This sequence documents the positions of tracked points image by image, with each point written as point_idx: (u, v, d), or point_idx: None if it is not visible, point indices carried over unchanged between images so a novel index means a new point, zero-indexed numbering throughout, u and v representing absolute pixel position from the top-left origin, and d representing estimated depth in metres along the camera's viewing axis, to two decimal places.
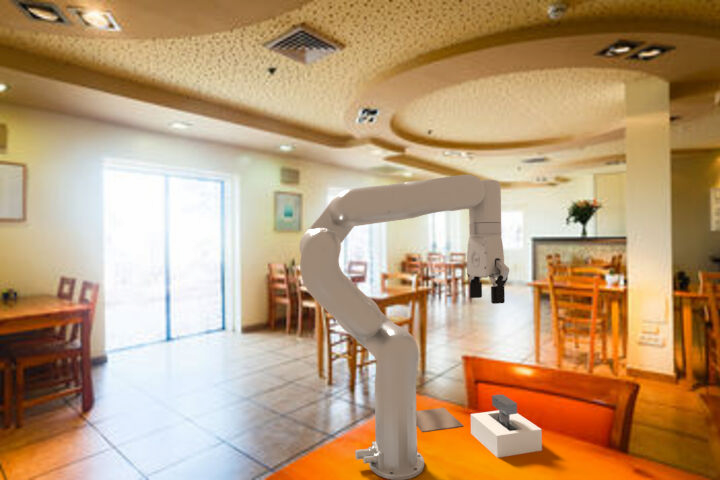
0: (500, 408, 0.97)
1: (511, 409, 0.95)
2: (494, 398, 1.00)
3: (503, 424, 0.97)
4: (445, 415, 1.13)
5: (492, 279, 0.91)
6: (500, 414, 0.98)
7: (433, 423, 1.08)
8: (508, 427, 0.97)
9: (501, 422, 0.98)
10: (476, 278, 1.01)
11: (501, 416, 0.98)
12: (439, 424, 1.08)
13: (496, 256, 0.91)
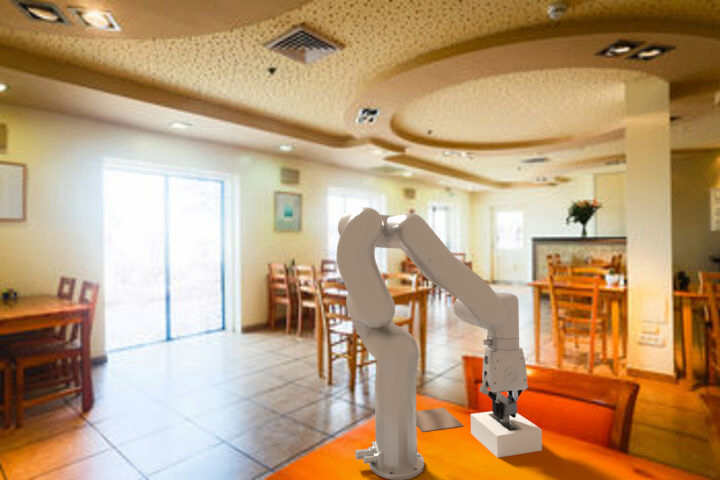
0: None
1: (511, 409, 0.95)
2: None
3: (503, 424, 0.97)
4: (445, 415, 1.13)
5: (516, 393, 0.98)
6: None
7: (433, 423, 1.08)
8: (508, 427, 0.97)
9: (501, 422, 0.98)
10: None
11: None
12: (439, 424, 1.08)
13: None
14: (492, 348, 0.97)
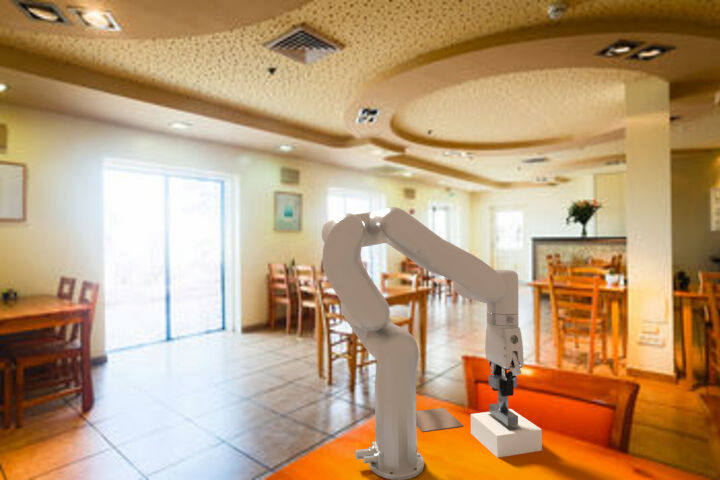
0: None
1: None
2: (499, 380, 0.96)
3: (507, 400, 0.98)
4: (445, 415, 1.13)
5: None
6: None
7: (433, 423, 1.08)
8: None
9: (506, 399, 0.97)
10: None
11: None
12: (439, 424, 1.08)
13: None
14: (514, 325, 0.95)
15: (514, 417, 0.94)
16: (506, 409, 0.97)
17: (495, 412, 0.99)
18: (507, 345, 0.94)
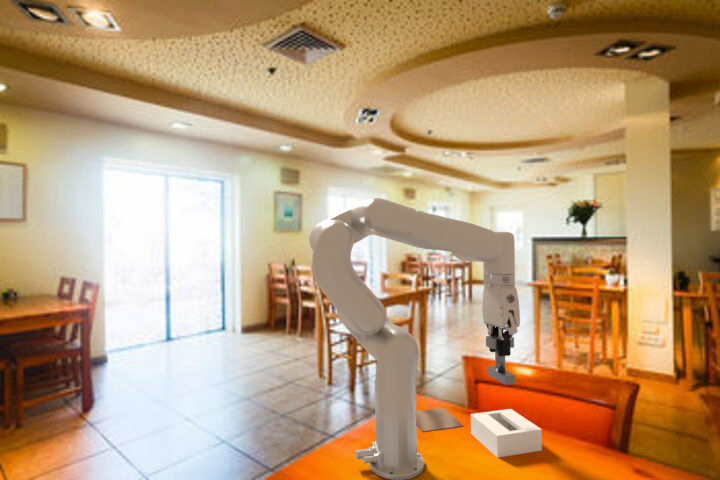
0: None
1: None
2: (496, 340, 0.97)
3: None
4: (445, 415, 1.13)
5: None
6: None
7: (433, 423, 1.08)
8: None
9: (504, 359, 0.98)
10: None
11: None
12: (439, 424, 1.08)
13: None
14: (511, 285, 0.96)
15: (511, 376, 0.95)
16: (503, 370, 0.98)
17: (492, 373, 1.00)
18: (503, 304, 0.94)
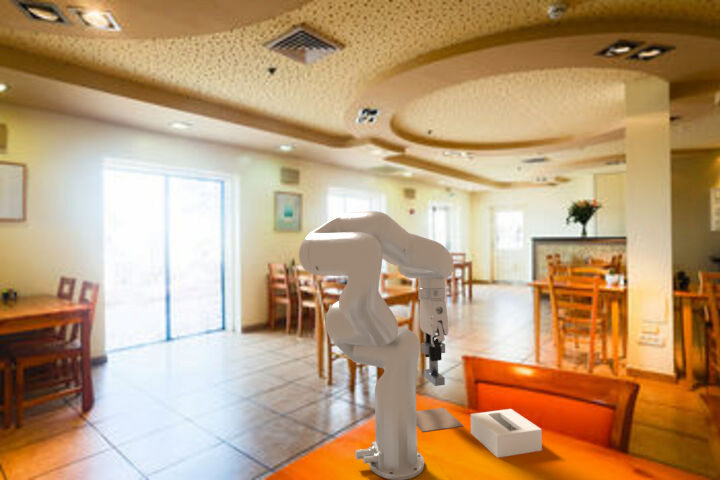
0: None
1: None
2: (428, 346, 1.09)
3: (437, 364, 1.11)
4: (445, 415, 1.13)
5: None
6: None
7: (433, 423, 1.08)
8: None
9: (436, 364, 1.10)
10: None
11: None
12: (439, 424, 1.08)
13: None
14: (440, 298, 1.08)
15: (441, 378, 1.08)
16: (435, 373, 1.10)
17: (427, 375, 1.12)
18: (433, 315, 1.06)
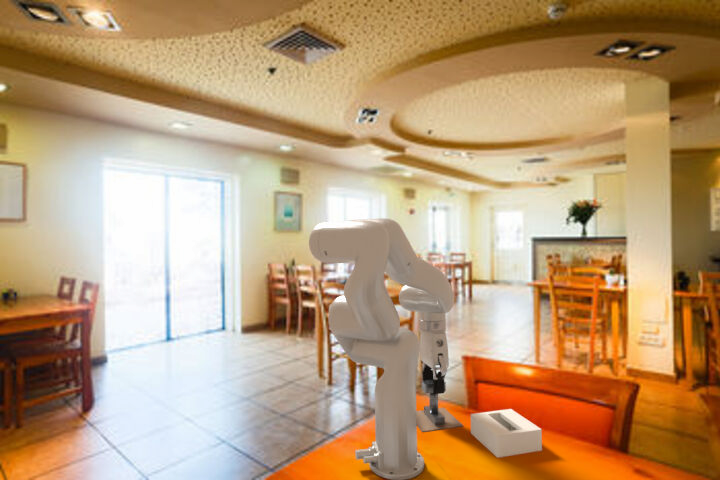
0: None
1: None
2: (429, 385, 1.09)
3: (437, 403, 1.10)
4: (445, 415, 1.13)
5: None
6: (435, 395, 1.10)
7: None
8: None
9: (436, 402, 1.10)
10: None
11: (436, 396, 1.10)
12: None
13: None
14: (441, 330, 1.08)
15: (441, 418, 1.07)
16: (435, 411, 1.10)
17: (427, 413, 1.12)
18: (433, 348, 1.06)
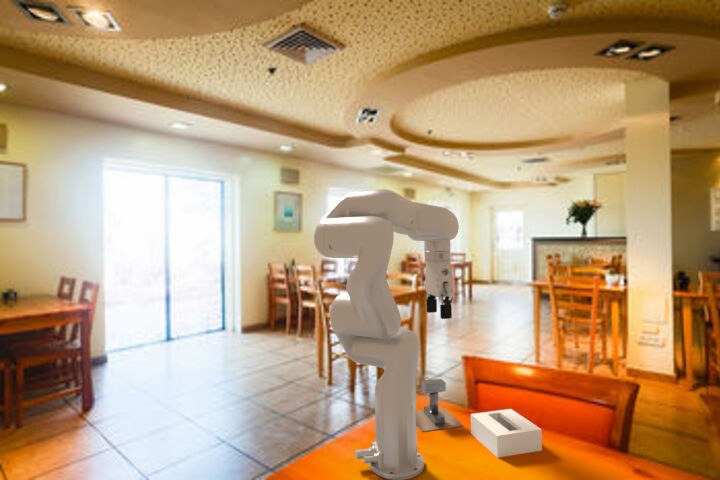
0: (437, 389, 1.10)
1: None
2: (429, 385, 1.09)
3: (437, 403, 1.10)
4: (445, 415, 1.13)
5: None
6: (435, 395, 1.10)
7: None
8: None
9: (436, 402, 1.10)
10: None
11: (436, 396, 1.10)
12: None
13: None
14: (445, 260, 1.12)
15: (441, 418, 1.07)
16: (435, 411, 1.10)
17: (427, 413, 1.12)
18: (439, 277, 1.11)
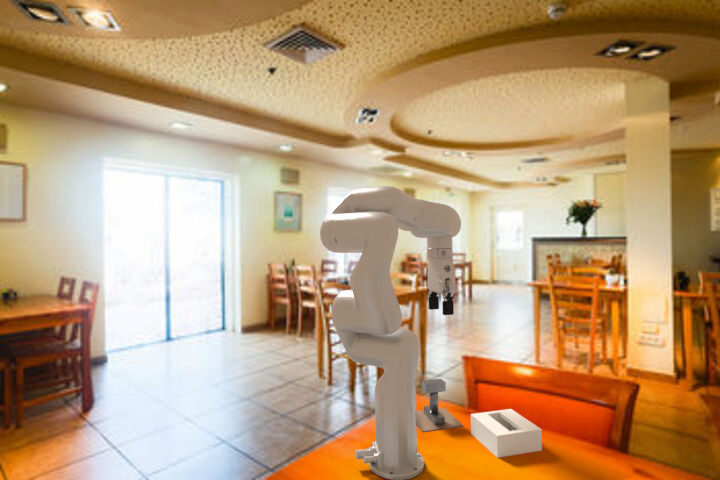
0: (437, 389, 1.10)
1: None
2: (429, 385, 1.09)
3: (437, 403, 1.10)
4: (445, 415, 1.13)
5: None
6: (435, 395, 1.10)
7: None
8: None
9: (436, 402, 1.10)
10: None
11: (436, 396, 1.10)
12: None
13: None
14: (448, 258, 1.14)
15: (441, 418, 1.07)
16: (435, 411, 1.10)
17: (427, 413, 1.12)
18: (441, 273, 1.12)
